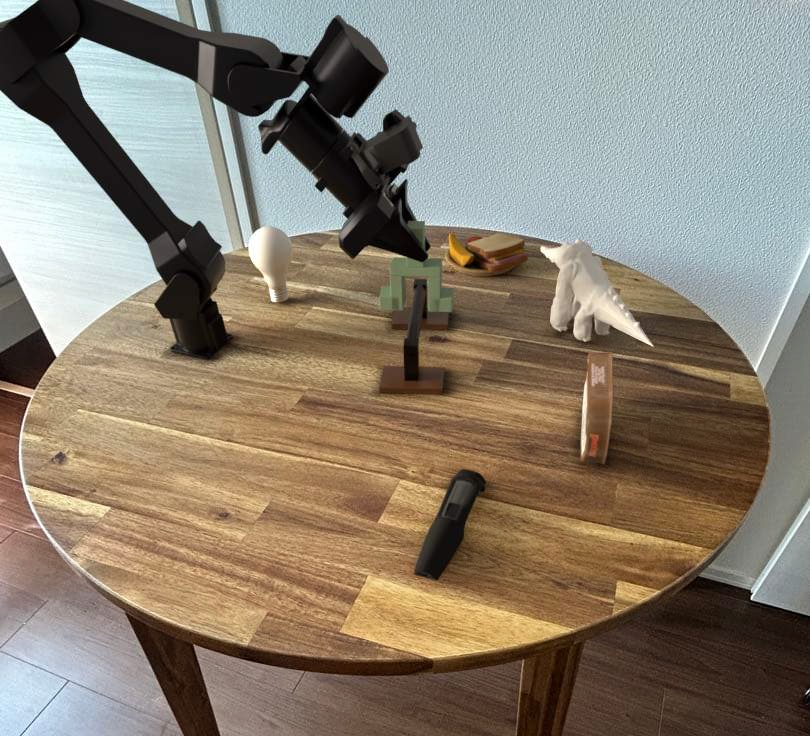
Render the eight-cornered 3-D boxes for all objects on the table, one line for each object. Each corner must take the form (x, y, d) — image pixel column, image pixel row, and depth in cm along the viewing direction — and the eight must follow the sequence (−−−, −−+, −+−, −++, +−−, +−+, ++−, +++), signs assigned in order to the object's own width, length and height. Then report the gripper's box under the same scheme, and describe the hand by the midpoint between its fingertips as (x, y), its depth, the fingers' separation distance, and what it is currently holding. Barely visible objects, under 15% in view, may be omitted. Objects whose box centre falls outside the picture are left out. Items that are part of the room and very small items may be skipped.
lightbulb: (309, 297, 100) (298, 224, 92) (282, 315, 97) (269, 240, 89) (277, 288, 103) (264, 216, 95) (250, 305, 99) (235, 231, 91)
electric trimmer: (403, 585, 61) (402, 563, 59) (455, 480, 71) (455, 457, 68) (441, 596, 60) (441, 574, 58) (488, 487, 70) (490, 465, 67)
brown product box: (603, 480, 70) (620, 416, 64) (573, 477, 70) (587, 413, 64) (603, 400, 80) (618, 338, 74) (577, 397, 80) (589, 335, 74)
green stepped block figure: (379, 310, 83) (375, 229, 75) (383, 298, 85) (378, 219, 77) (451, 312, 82) (453, 230, 75) (453, 301, 84) (455, 220, 77)
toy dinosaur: (553, 295, 98) (564, 219, 90) (666, 370, 84) (691, 287, 76) (516, 306, 96) (524, 229, 88) (624, 385, 82) (645, 302, 74)
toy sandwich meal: (499, 241, 113) (502, 212, 109) (537, 272, 104) (541, 242, 100) (433, 254, 110) (433, 225, 106) (466, 287, 101) (467, 257, 98)
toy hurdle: (379, 392, 82) (376, 351, 78) (395, 311, 97) (393, 273, 92) (442, 394, 82) (442, 353, 77) (448, 312, 96) (449, 274, 92)
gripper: (360, 115, 60) (472, 239, 67) (387, 68, 73) (480, 176, 80) (291, 204, 67) (400, 308, 74) (327, 146, 80) (417, 240, 86)
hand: (427, 254), depth 78 cm, fingers closed on green stepped block figure, 2 cm apart
